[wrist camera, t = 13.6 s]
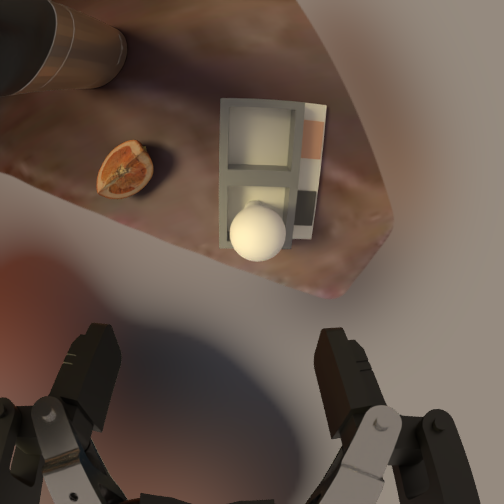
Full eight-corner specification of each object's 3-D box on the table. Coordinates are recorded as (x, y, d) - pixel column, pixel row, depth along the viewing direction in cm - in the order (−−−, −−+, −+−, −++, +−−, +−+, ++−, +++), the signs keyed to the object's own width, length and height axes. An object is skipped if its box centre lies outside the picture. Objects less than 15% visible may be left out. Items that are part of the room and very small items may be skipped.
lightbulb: (269, 179, 37) (282, 211, 28) (281, 220, 40) (295, 263, 31) (224, 193, 38) (220, 229, 28) (238, 232, 41) (240, 278, 31)
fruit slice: (140, 126, 33) (127, 131, 29) (170, 165, 36) (161, 174, 32) (98, 165, 35) (82, 175, 31) (126, 200, 38) (114, 214, 34)
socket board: (220, 235, 42) (219, 248, 38) (222, 98, 32) (220, 98, 29) (309, 236, 43) (316, 249, 39) (324, 105, 33) (334, 106, 30)
